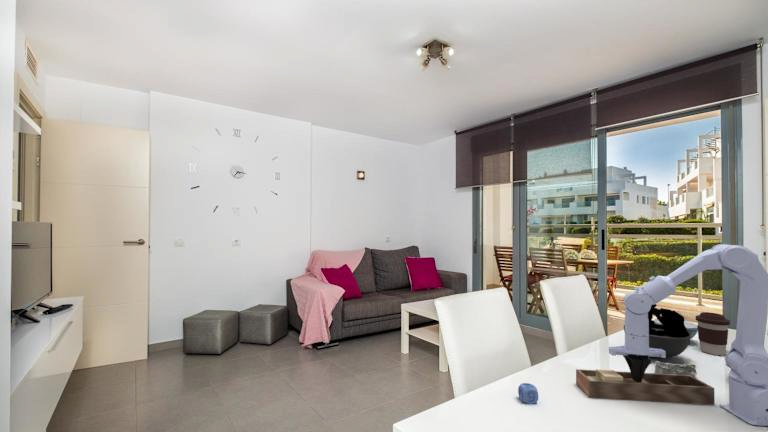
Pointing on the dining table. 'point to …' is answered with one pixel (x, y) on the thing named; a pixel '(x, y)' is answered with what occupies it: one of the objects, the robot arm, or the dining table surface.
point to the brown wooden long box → (647, 388)
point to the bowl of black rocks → (667, 332)
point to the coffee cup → (712, 333)
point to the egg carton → (675, 369)
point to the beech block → (608, 375)
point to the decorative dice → (528, 393)
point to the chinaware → (689, 326)
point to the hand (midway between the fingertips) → (636, 380)
